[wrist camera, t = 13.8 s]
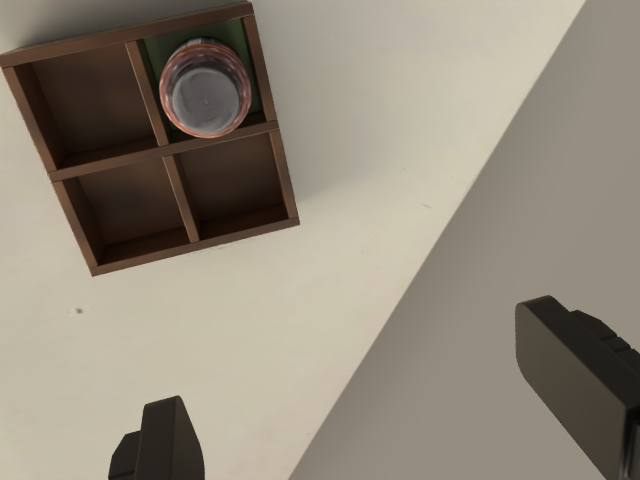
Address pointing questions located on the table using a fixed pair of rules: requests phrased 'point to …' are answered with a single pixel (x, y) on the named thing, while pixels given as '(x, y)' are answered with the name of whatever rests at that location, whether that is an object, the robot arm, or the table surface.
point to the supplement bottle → (205, 88)
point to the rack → (150, 142)
